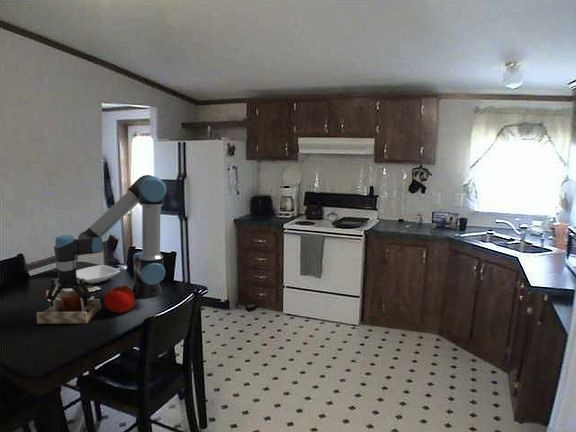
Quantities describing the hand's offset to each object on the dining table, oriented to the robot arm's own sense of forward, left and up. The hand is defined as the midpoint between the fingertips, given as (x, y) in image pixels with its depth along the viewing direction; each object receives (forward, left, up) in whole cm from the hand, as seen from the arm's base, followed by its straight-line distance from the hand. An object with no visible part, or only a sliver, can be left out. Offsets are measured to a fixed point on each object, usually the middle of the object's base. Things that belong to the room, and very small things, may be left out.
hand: (70, 313), depth 190 cm
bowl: (+8, -49, -2) cm, 50 cm away
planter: (+30, -63, -2) cm, 70 cm away
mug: (0, 0, -2) cm, 2 cm away
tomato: (-21, -6, -2) cm, 22 cm away
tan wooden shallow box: (0, 0, -1) cm, 1 cm away
